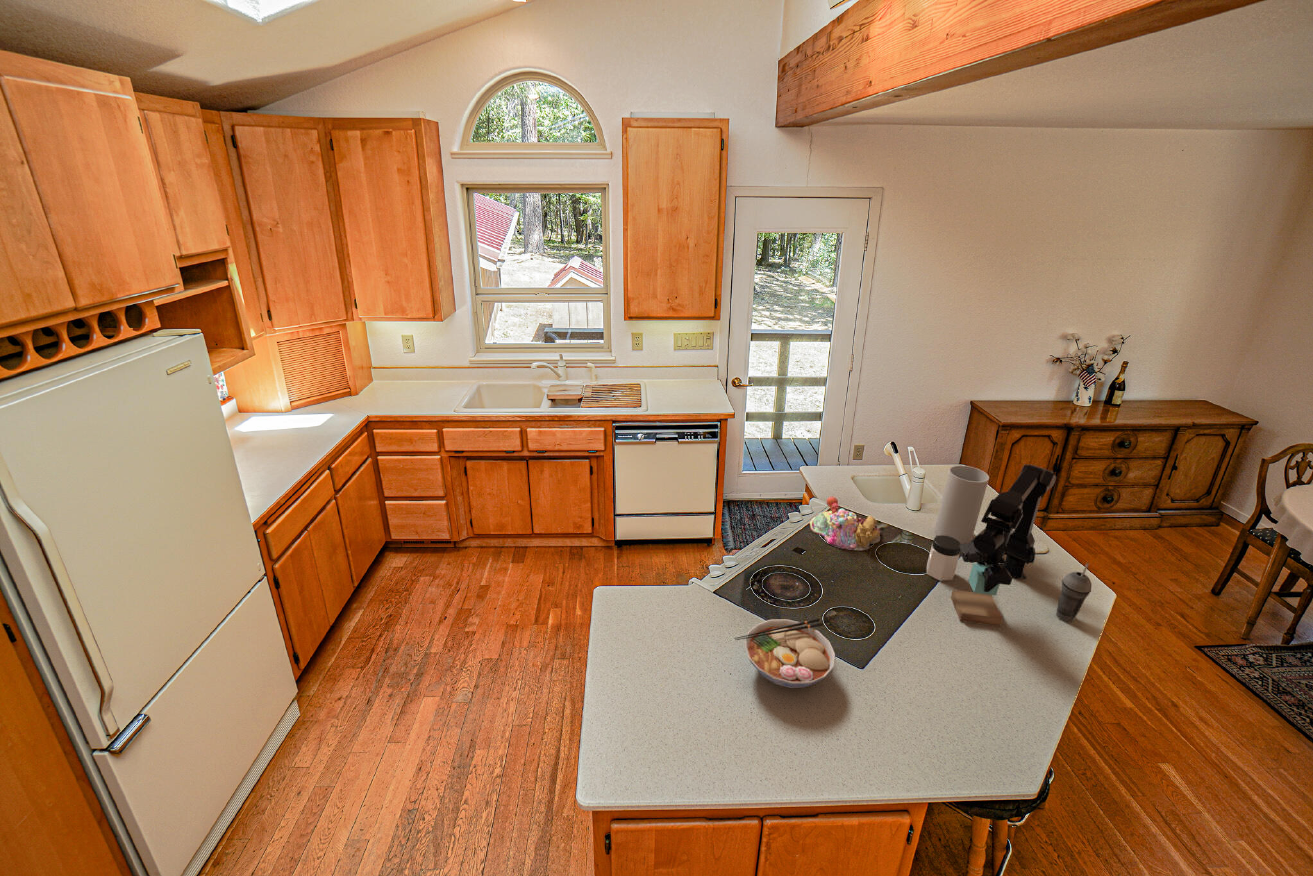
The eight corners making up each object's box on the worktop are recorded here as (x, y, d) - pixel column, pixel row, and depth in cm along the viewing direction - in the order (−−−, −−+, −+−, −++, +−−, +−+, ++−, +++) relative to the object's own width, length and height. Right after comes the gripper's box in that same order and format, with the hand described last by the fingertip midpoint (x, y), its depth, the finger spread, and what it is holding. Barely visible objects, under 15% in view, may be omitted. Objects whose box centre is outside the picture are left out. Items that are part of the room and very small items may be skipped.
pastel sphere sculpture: (887, 528, 229) (892, 506, 225) (870, 559, 211) (875, 536, 207) (821, 508, 241) (824, 487, 237) (799, 536, 223) (802, 513, 219)
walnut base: (950, 597, 193) (952, 589, 192) (988, 602, 192) (991, 594, 190) (960, 621, 183) (962, 613, 182) (1000, 626, 182) (1002, 618, 181)
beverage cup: (1071, 610, 189) (1092, 554, 181) (1083, 626, 183) (1106, 569, 175) (1046, 608, 190) (1065, 552, 182) (1057, 624, 183) (1078, 567, 175)
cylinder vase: (926, 528, 229) (941, 467, 219) (954, 524, 233) (970, 463, 223) (950, 547, 218) (967, 484, 208) (979, 542, 222) (997, 479, 212)
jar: (925, 562, 210) (933, 532, 205) (952, 568, 207) (960, 537, 202) (926, 578, 202) (934, 546, 197) (953, 584, 200) (962, 552, 195)
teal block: (968, 580, 187) (973, 563, 185) (989, 582, 186) (994, 566, 184) (973, 592, 182) (978, 575, 179) (996, 595, 181) (1001, 578, 178)
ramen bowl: (759, 714, 150) (763, 689, 147) (725, 648, 170) (727, 624, 167) (852, 695, 157) (857, 670, 153) (808, 633, 177) (812, 610, 173)
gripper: (957, 519, 187) (945, 562, 193) (975, 554, 170) (962, 601, 176) (997, 523, 185) (984, 567, 192) (1019, 560, 168) (1004, 607, 175)
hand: (982, 585), depth 184 cm, fingers closed on teal block, 6 cm apart
